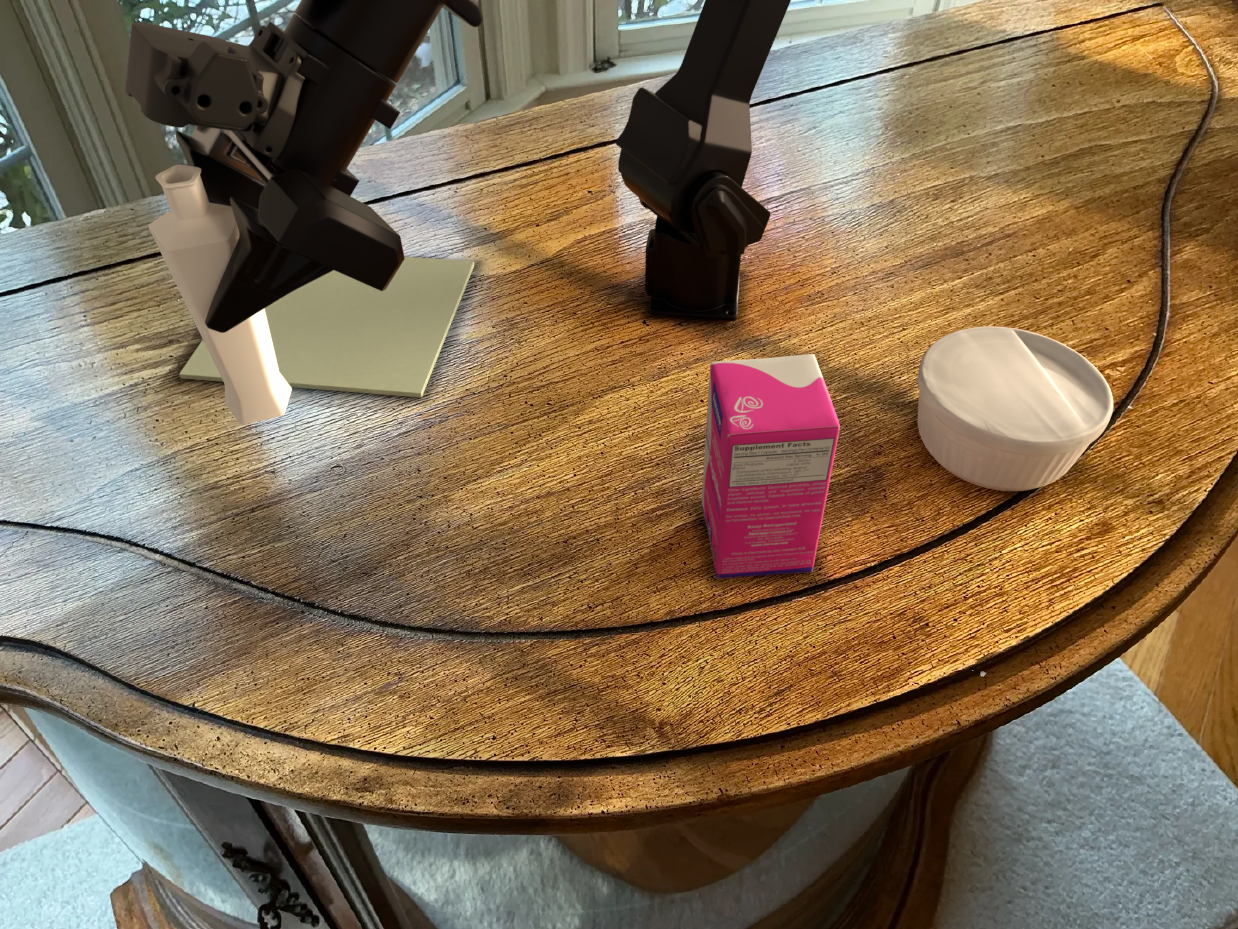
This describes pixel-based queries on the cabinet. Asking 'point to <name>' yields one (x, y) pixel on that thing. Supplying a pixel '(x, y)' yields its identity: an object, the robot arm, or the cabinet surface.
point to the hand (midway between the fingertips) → (198, 306)
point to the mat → (360, 330)
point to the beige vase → (197, 261)
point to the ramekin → (1009, 406)
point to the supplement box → (767, 464)
